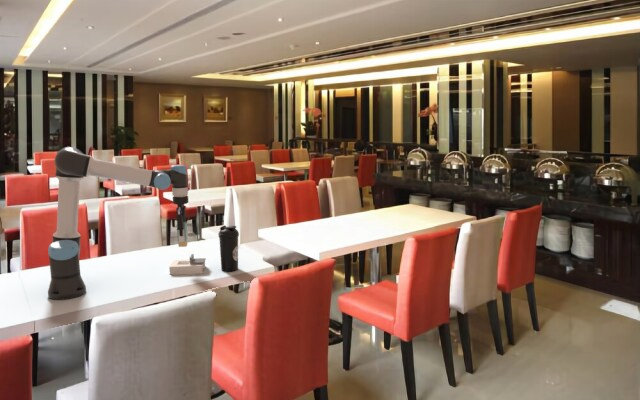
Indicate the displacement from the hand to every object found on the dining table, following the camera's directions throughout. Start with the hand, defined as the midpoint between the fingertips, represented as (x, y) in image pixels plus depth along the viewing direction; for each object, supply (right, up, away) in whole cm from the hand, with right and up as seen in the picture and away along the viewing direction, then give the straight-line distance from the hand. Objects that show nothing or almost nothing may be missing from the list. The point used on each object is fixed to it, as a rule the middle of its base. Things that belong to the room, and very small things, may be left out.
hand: (182, 240), depth 249 cm
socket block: (+2, -16, +3) cm, 16 cm away
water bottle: (+23, -16, +4) cm, 28 cm away
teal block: (0, -3, 0) cm, 3 cm away
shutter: (+7, -11, +3) cm, 14 cm away
